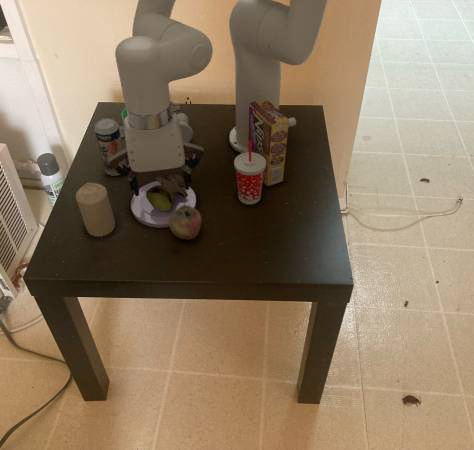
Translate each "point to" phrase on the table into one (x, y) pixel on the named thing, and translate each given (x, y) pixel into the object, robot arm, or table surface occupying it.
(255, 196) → the beverage cup
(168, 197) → the toy
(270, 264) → the table surface
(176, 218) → the apple
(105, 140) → the canister with white lid
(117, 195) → the table surface
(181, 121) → the chess piece
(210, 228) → the table surface
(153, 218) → the dish
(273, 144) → the candy box
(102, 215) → the candle
